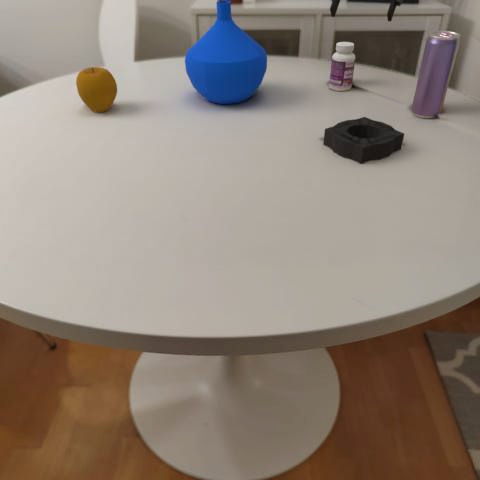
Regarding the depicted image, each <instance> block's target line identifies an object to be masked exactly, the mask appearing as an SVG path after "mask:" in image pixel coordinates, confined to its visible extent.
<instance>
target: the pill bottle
mask: <svg viewBox="0 0 480 480" xmlns="http://www.w3.org/2000/svg"><path fill="white" fill-rule="evenodd" d="M354 50H355V44H354V43H353V42H350V41H339V42H337V43H336V45H335V52H334V53H333V54H332V56H331V62H330V72H329V73H330V74H329V83H328V87H329V89H330V90H332V91H336V92H346V91H349V90H351V89H352V87H353V80H354V78H353V77H354V73H355V72H354V71H355V64H356V55H355V53H353V51H354Z"/></svg>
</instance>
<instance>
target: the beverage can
mask: <svg viewBox="0 0 480 480" xmlns="http://www.w3.org/2000/svg"><path fill="white" fill-rule="evenodd" d="M460 40H461V34H460V33H458V32H455V31H449V30H435V31H429V33H428V37H427V38H426V41H425V45H424V46H425V47H424V50H423V54H422V59H421V63H420V68H419V72H418V77H417V81H416V85H415V91H414V95H413V100H412V104H411V109H410V110H411V113H412V115H413V116H415V117H417V118H419V119H421V118H422V119H435V118H437V117H439V115H438V114H441V113H442V112H443V107H444V103H445V99H446V96H447V93H448V88H449V85H450V81H451V77H452V73H453V70H454V67H455V66H454V65H455V62H456V58H457V55H458V51H459V47H460V43H461V41H460Z"/></svg>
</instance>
